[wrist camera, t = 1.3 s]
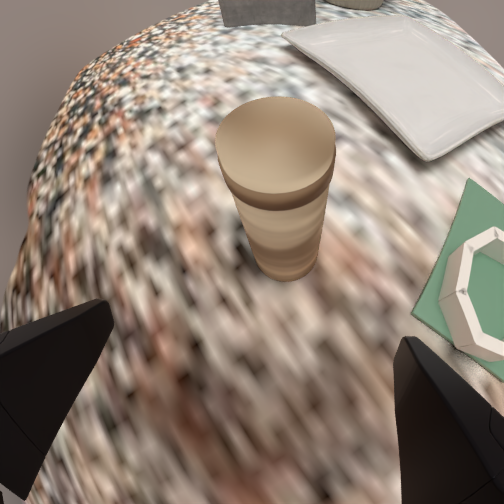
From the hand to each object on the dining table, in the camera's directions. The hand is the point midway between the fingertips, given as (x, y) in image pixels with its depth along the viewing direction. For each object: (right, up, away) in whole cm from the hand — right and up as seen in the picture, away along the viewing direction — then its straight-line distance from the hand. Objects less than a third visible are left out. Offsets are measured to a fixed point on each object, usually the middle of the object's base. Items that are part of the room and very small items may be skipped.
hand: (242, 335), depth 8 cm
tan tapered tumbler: (+3, +2, +15) cm, 16 cm away
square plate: (+22, +26, +23) cm, 41 cm away
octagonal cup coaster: (+22, 0, +12) cm, 25 cm away
